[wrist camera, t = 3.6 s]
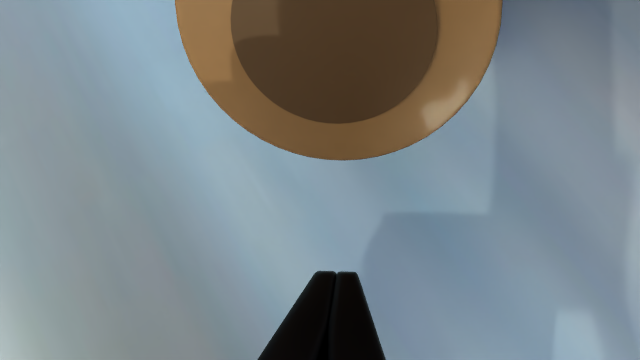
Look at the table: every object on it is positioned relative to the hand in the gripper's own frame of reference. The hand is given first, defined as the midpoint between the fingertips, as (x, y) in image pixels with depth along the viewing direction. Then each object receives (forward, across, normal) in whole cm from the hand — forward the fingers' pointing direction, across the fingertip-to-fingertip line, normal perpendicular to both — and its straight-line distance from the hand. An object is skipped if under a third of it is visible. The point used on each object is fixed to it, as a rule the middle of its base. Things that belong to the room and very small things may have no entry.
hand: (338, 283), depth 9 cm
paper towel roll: (+14, 0, +1) cm, 14 cm away
